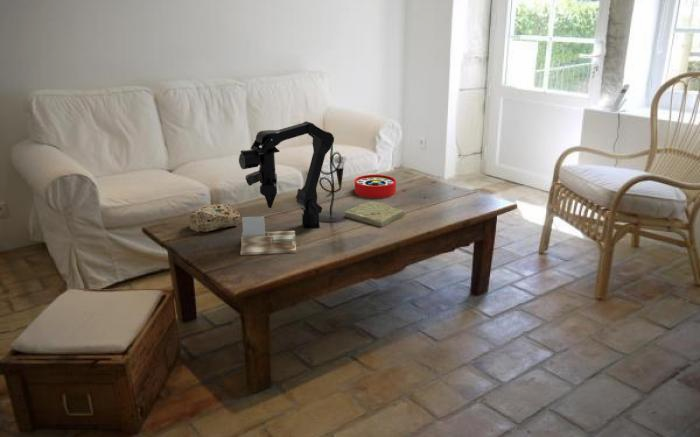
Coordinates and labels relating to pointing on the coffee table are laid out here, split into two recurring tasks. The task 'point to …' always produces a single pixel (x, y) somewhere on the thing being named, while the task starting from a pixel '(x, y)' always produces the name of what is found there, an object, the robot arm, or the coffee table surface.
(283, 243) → the offcut stack
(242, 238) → the rack
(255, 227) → the sheet
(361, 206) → the decorative tile
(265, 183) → the robot arm
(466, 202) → the coffee table surface
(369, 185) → the toy clock
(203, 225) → the rock
